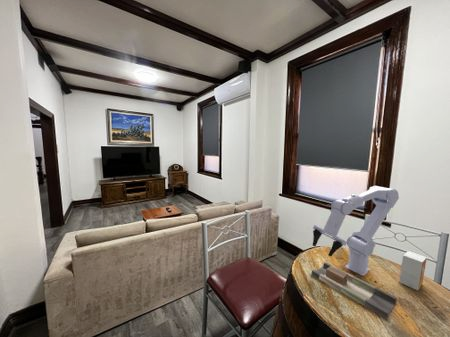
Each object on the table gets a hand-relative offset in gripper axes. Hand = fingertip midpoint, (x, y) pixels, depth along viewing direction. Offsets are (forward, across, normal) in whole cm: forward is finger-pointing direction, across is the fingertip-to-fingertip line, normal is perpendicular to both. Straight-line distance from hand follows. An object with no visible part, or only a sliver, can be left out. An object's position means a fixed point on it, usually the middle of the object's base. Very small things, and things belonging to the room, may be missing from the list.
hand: (321, 250), depth 86 cm
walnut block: (+8, +8, +5) cm, 13 cm away
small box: (-4, +28, +32) cm, 42 cm away
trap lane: (+8, +14, +5) cm, 17 cm away
